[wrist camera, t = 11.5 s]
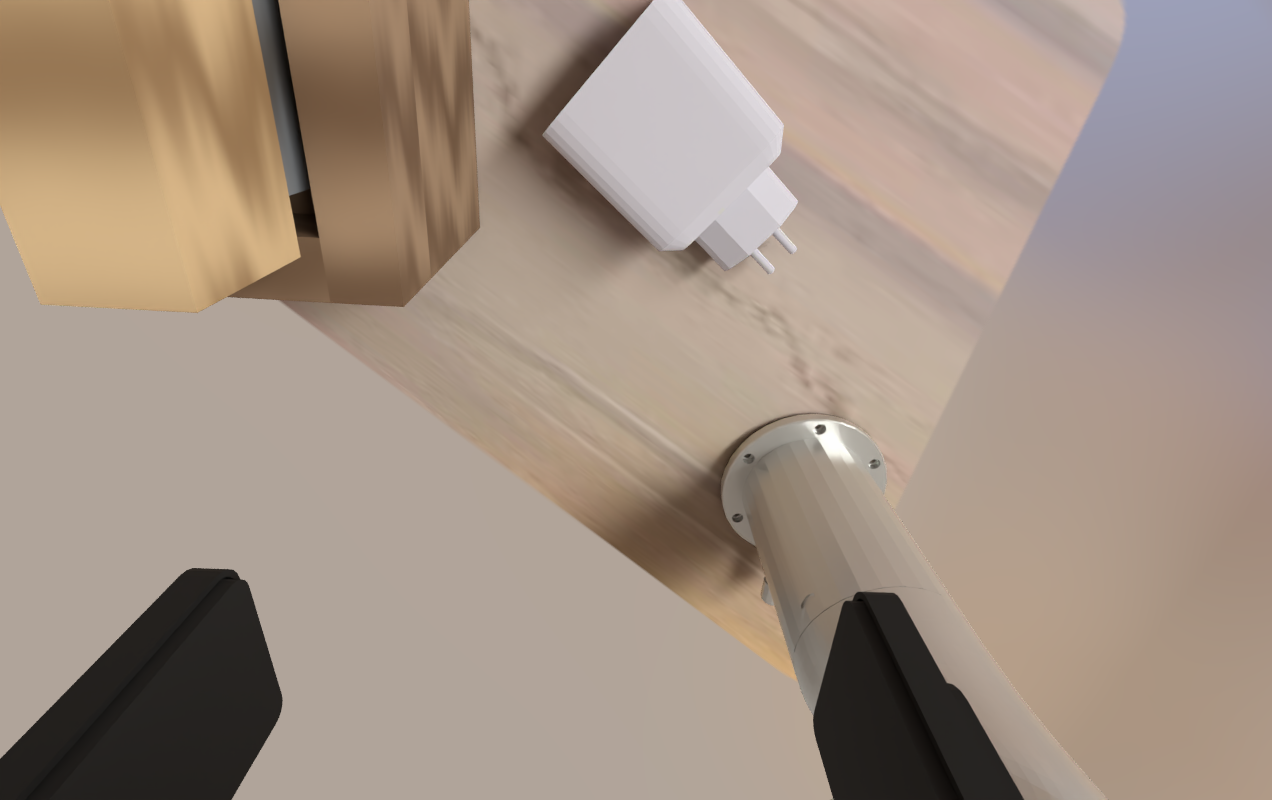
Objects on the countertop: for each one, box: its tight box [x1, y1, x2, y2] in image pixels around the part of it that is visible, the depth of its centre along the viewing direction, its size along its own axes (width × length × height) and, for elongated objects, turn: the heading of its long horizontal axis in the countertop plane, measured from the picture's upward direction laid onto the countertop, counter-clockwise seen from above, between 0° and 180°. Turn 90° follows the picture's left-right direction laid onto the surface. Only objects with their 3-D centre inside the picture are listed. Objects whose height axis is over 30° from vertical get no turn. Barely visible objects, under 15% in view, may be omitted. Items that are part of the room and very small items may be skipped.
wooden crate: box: [228, 0, 480, 307], centre depth 27 cm, size 14×10×15 cm
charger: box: [542, 0, 798, 274], centre depth 34 cm, size 5×9×15 cm
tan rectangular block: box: [0, 0, 311, 313], centre depth 18 cm, size 11×4×11 cm, turn 176°
